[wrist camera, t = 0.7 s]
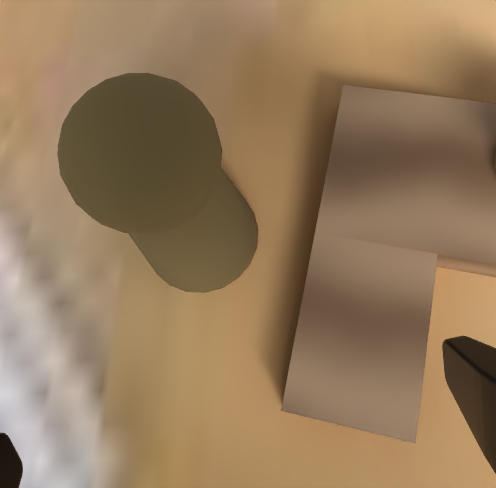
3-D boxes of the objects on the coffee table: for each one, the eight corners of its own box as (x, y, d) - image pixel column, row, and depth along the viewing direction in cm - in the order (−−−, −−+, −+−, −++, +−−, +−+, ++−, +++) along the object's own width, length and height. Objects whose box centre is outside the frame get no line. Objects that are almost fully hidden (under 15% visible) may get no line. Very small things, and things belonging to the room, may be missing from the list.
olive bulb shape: (193, 317, 22) (99, 271, 12) (123, 233, 24) (-14, 126, 13) (282, 238, 23) (269, 128, 12) (208, 161, 25) (141, 6, 14)
